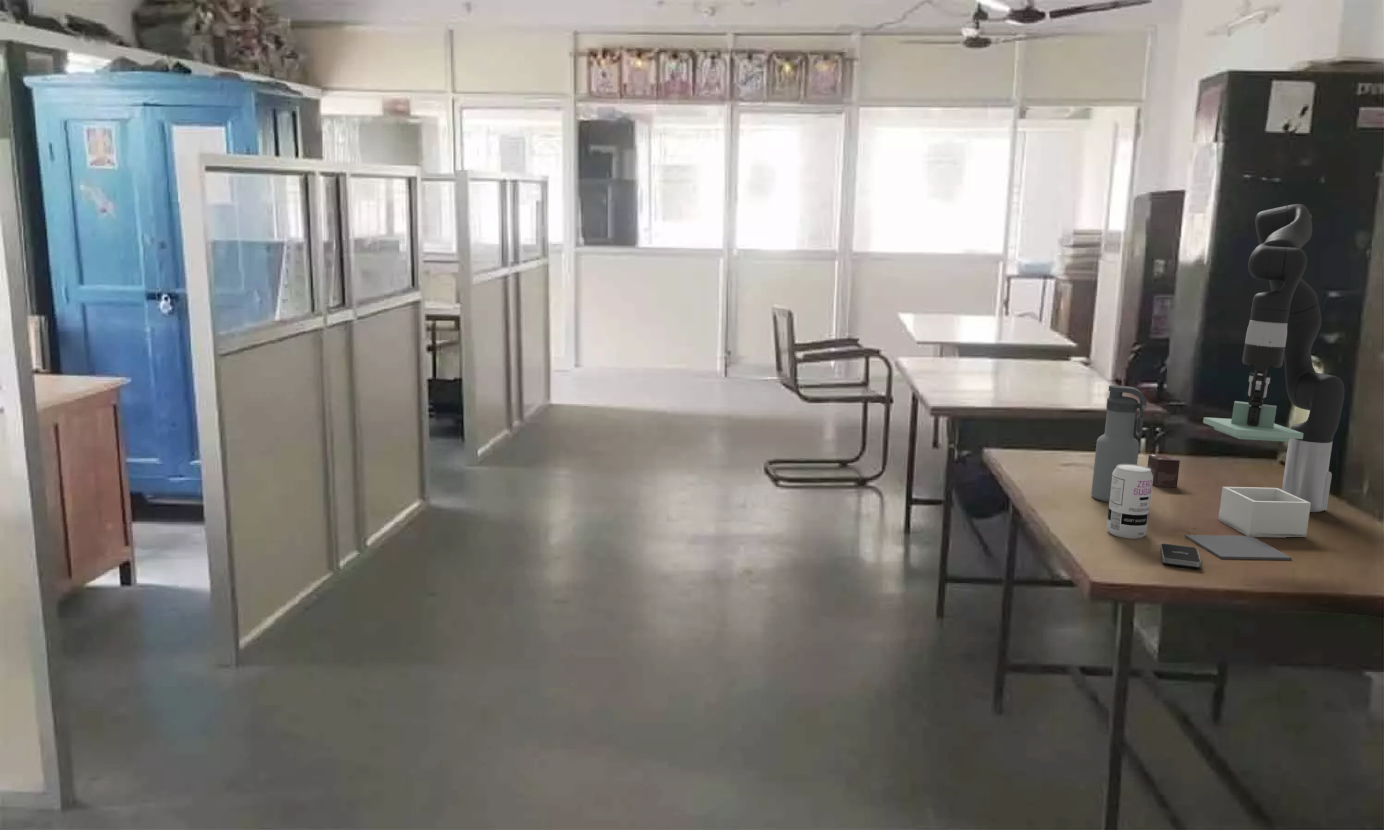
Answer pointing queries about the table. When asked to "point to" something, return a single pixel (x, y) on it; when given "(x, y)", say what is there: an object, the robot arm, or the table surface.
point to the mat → (1237, 547)
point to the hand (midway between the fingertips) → (1252, 423)
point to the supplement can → (1129, 501)
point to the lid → (1260, 432)
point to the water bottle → (1117, 438)
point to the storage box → (1264, 512)
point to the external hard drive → (1180, 556)
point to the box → (1164, 470)
